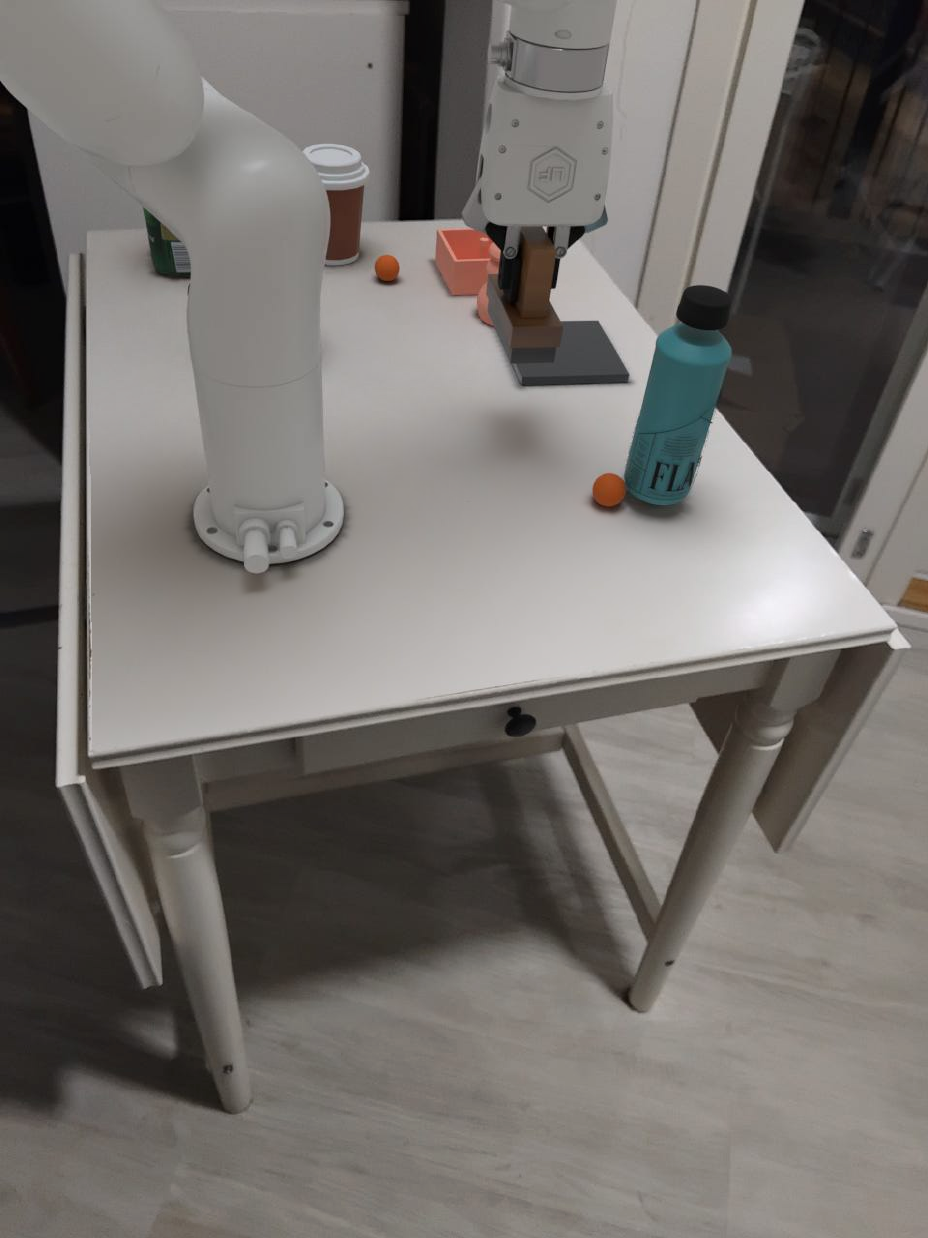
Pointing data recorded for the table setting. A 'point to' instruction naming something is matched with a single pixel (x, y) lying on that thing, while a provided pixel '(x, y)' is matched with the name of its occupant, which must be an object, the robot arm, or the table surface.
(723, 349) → the beverage bottle
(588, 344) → the slate tile
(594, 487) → the felt ball
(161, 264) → the coffee jar
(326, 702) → the table surface
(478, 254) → the pottery
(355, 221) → the coffee cup
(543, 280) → the brush
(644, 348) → the table surface
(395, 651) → the table surface
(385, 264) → the felt ball
